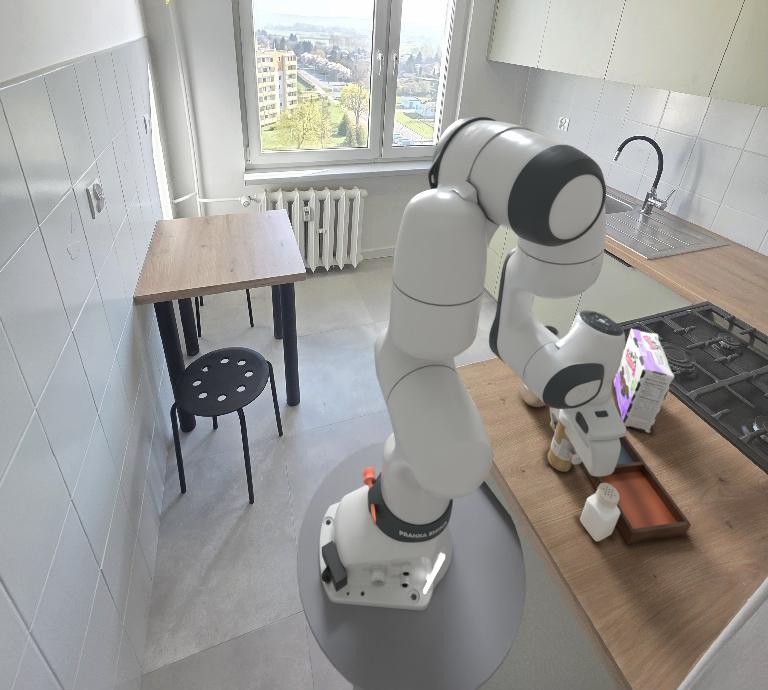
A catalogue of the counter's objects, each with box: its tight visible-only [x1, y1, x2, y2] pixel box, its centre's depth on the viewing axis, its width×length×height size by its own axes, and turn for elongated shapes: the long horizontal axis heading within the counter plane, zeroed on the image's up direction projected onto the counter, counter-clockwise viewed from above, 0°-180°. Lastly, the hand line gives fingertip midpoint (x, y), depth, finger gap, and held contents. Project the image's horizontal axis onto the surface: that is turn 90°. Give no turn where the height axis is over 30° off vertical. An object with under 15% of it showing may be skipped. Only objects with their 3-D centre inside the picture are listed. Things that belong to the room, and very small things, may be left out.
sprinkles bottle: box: [546, 409, 575, 472], centre depth 80 cm, size 5×5×13 cm
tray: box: [579, 435, 692, 545], centre depth 80 cm, size 11×22×3 cm, turn 8°
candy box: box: [612, 328, 675, 434], centre depth 93 cm, size 14×6×16 cm, turn 161°
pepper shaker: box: [579, 483, 620, 542], centre depth 70 cm, size 4×4×10 cm
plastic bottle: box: [520, 324, 560, 408], centre depth 93 cm, size 6×7×20 cm
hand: (564, 443), depth 81 cm, fingers open, 5 cm apart
